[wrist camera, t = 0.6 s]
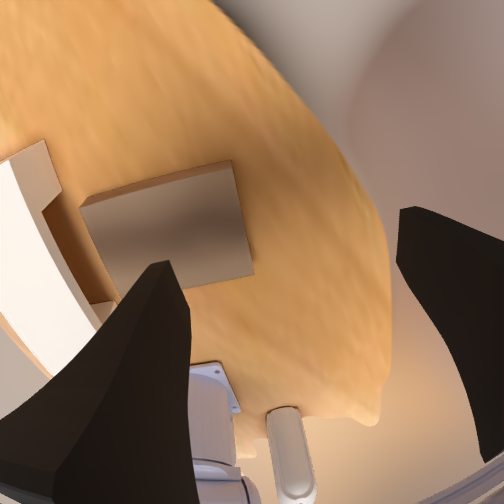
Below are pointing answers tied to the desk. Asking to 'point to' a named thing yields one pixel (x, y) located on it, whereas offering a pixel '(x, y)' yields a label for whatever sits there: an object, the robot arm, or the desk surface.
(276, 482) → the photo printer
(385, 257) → the desk surface
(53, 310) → the white shelf
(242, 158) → the desk surface
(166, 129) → the desk surface
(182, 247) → the walnut panel
